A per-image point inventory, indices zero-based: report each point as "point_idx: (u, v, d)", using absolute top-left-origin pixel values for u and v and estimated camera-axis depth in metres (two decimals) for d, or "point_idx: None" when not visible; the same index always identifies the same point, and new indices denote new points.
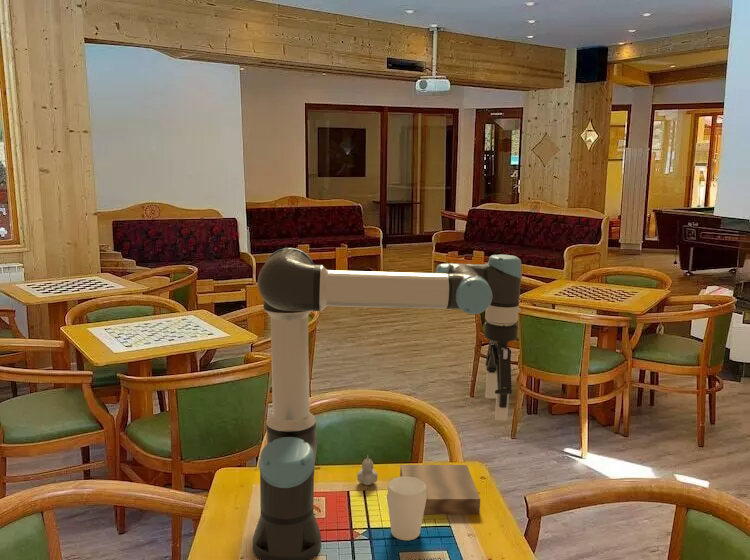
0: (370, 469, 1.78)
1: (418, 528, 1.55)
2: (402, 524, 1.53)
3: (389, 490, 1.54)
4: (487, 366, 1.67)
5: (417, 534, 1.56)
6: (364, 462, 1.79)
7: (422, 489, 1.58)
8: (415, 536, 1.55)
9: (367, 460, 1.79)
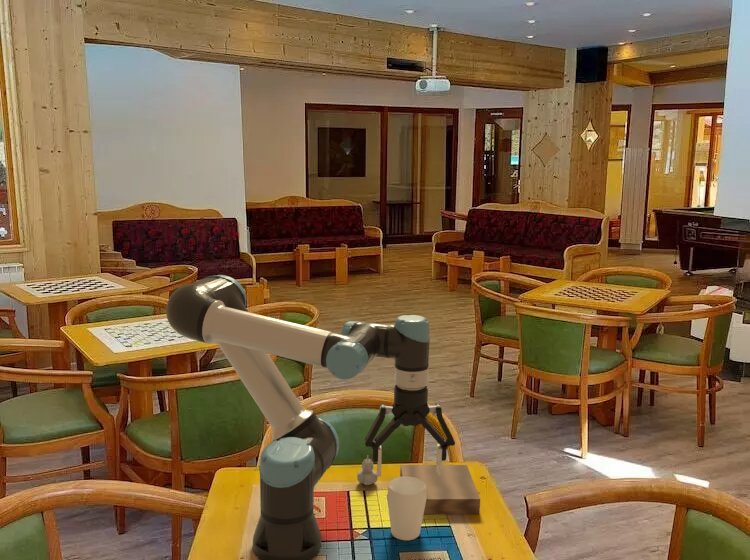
0: (370, 469, 1.78)
1: (418, 528, 1.55)
2: (402, 524, 1.53)
3: (389, 490, 1.54)
4: None
5: (417, 534, 1.56)
6: (364, 462, 1.79)
7: (422, 489, 1.58)
8: (415, 536, 1.55)
9: (367, 460, 1.79)
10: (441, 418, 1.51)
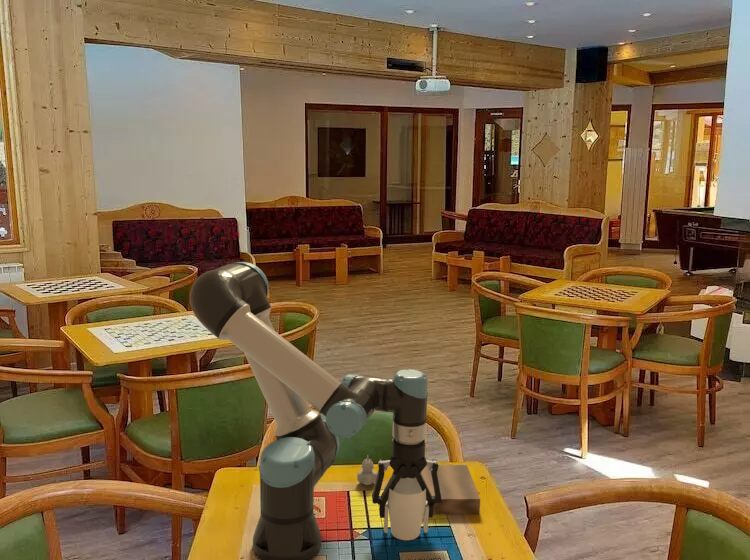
0: (370, 469, 1.78)
1: (418, 528, 1.55)
2: (402, 524, 1.53)
3: (389, 490, 1.54)
4: None
5: (417, 534, 1.56)
6: (364, 462, 1.79)
7: None
8: (415, 536, 1.55)
9: (367, 460, 1.79)
10: (435, 475, 1.54)
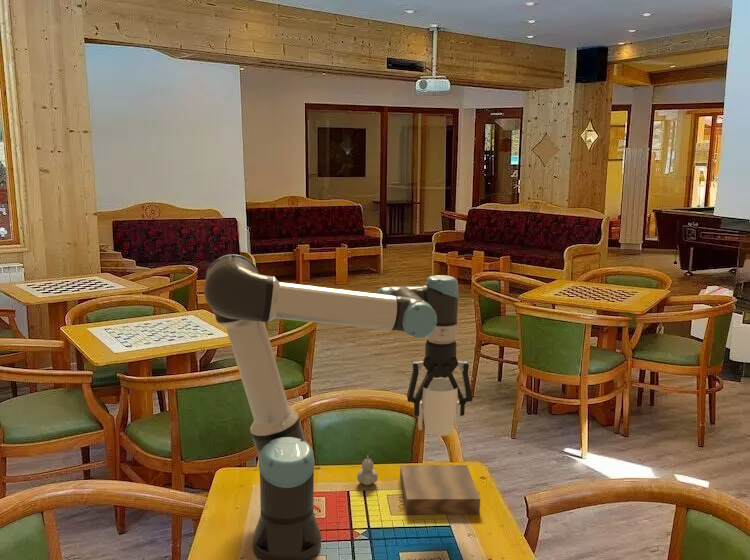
0: (370, 469, 1.78)
1: (450, 425, 1.65)
2: (436, 420, 1.64)
3: (423, 389, 1.65)
4: None
5: (450, 431, 1.66)
6: (364, 462, 1.79)
7: None
8: (448, 432, 1.66)
9: (367, 460, 1.79)
10: (466, 374, 1.64)
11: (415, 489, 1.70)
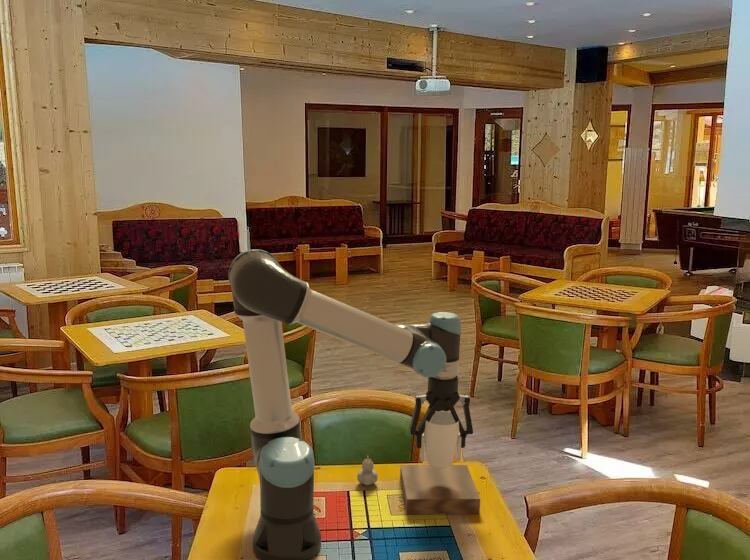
0: (370, 469, 1.78)
1: (452, 457, 1.70)
2: (438, 453, 1.69)
3: None
4: None
5: (451, 462, 1.71)
6: (364, 462, 1.79)
7: None
8: (449, 464, 1.71)
9: (367, 460, 1.79)
10: (467, 408, 1.70)
11: (415, 489, 1.70)
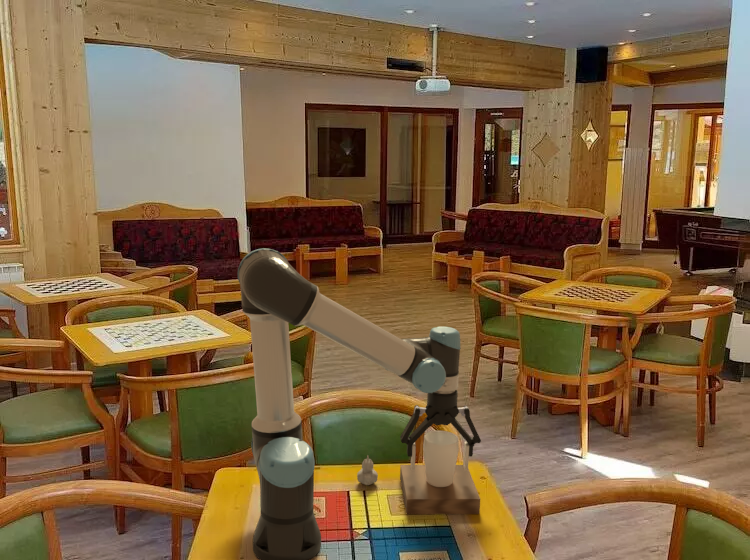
0: (370, 469, 1.78)
1: (451, 476, 1.71)
2: (437, 472, 1.70)
3: (425, 441, 1.71)
4: None
5: (450, 482, 1.72)
6: (364, 462, 1.79)
7: (455, 441, 1.74)
8: (449, 483, 1.72)
9: (367, 460, 1.79)
10: (469, 418, 1.70)
11: (415, 489, 1.70)
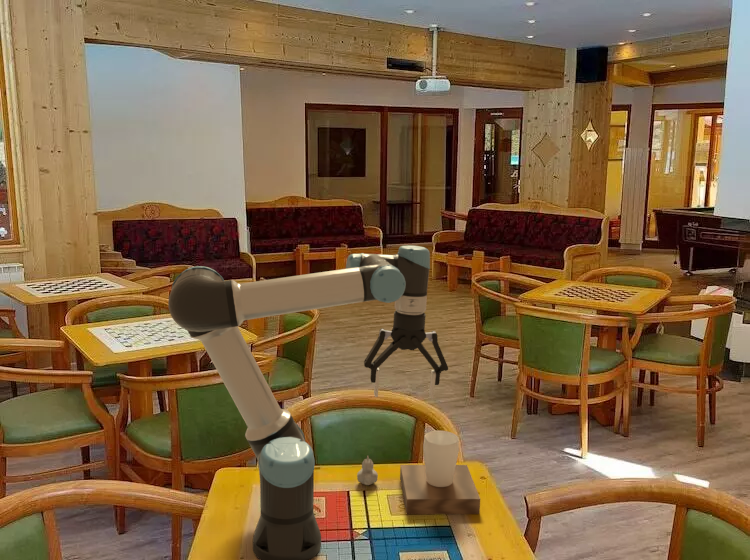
0: (370, 469, 1.78)
1: (451, 476, 1.71)
2: (437, 472, 1.70)
3: (425, 441, 1.71)
4: None
5: (450, 482, 1.72)
6: (364, 462, 1.79)
7: (455, 441, 1.75)
8: (449, 483, 1.72)
9: (367, 460, 1.79)
10: (436, 344, 1.62)
11: (415, 489, 1.70)
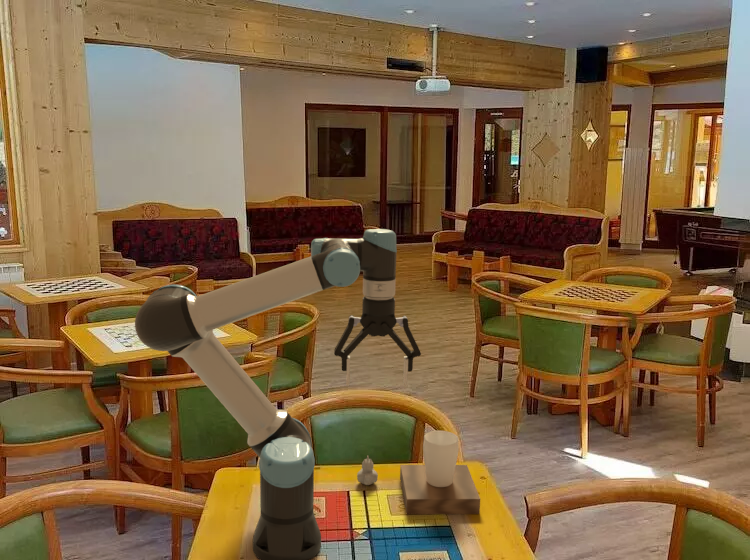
0: (370, 469, 1.78)
1: (451, 476, 1.71)
2: (437, 472, 1.70)
3: (425, 442, 1.71)
4: None
5: (450, 482, 1.72)
6: (364, 462, 1.79)
7: (455, 441, 1.74)
8: (449, 483, 1.72)
9: (367, 460, 1.79)
10: (407, 329, 1.57)
11: (415, 489, 1.70)
